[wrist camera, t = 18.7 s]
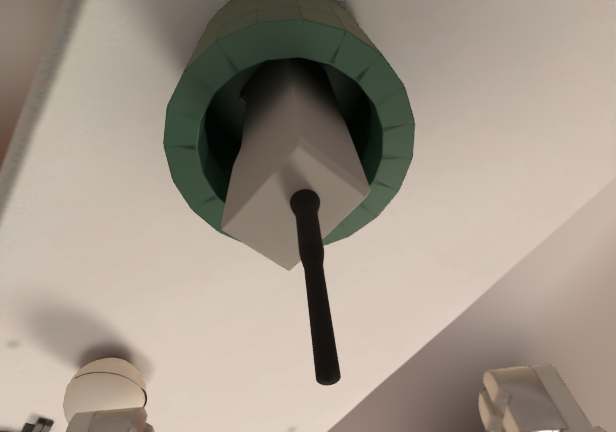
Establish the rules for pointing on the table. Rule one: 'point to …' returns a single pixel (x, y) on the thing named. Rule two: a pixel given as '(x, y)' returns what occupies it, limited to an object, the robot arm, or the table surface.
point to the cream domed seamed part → (104, 387)
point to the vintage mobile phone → (295, 182)
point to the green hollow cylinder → (231, 109)
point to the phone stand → (38, 426)
